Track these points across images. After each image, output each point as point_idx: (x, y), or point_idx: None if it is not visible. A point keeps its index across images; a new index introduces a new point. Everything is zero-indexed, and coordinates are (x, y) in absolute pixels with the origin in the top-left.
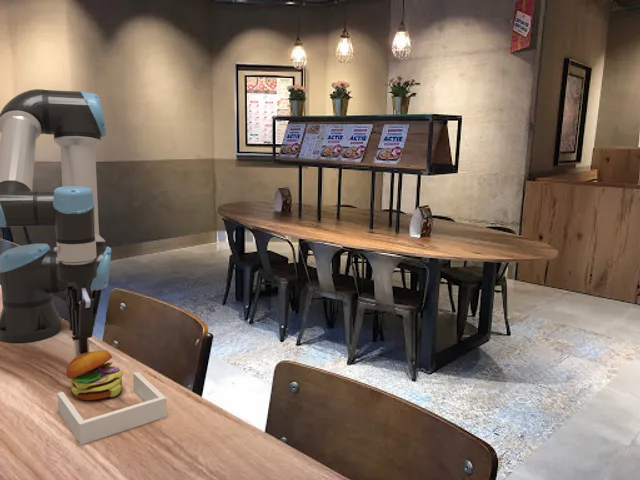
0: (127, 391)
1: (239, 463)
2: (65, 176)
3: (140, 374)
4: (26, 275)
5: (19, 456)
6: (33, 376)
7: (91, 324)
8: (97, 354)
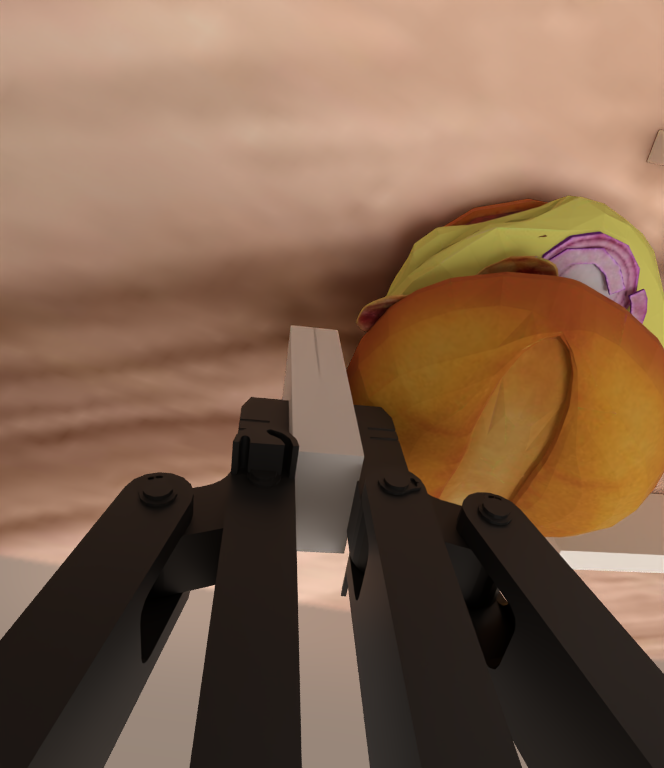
0: (623, 197)
1: None
2: None
3: None
4: None
5: (652, 633)
6: (94, 480)
7: (631, 651)
8: (649, 463)
